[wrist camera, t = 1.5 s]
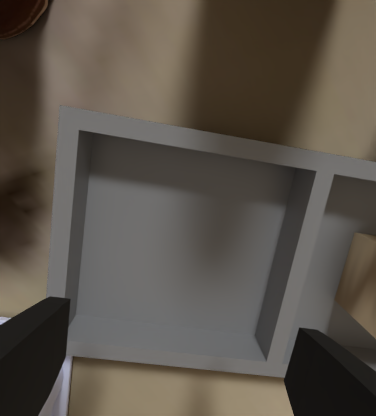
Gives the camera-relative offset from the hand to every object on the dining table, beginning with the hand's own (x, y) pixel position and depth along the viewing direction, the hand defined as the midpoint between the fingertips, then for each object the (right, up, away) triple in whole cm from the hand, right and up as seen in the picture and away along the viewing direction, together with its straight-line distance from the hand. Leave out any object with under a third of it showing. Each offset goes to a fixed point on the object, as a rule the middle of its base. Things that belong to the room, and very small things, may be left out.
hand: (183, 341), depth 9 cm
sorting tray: (+6, +1, +10) cm, 12 cm away
